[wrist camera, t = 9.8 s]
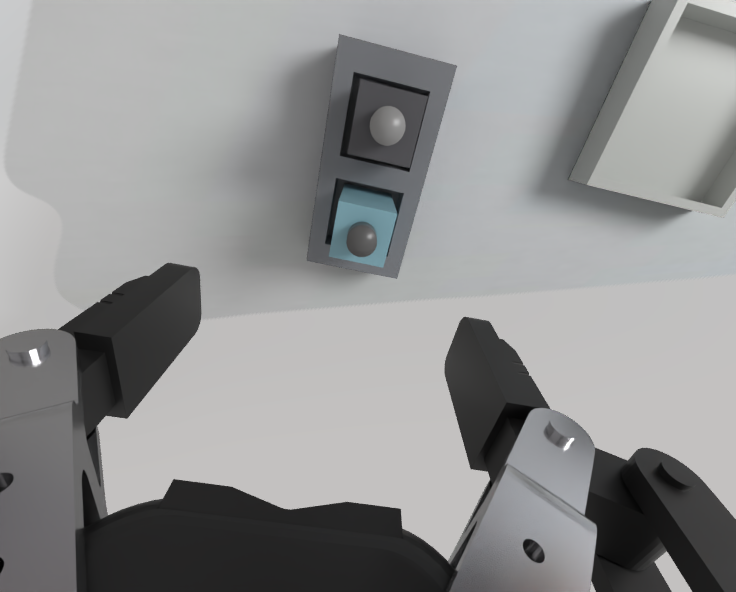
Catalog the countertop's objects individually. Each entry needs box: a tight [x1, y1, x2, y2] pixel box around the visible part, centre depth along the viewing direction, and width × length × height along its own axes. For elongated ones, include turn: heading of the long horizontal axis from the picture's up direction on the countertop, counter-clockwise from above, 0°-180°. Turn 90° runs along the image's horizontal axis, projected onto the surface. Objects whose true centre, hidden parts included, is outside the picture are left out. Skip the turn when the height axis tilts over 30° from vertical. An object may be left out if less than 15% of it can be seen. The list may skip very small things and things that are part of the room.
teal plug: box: [329, 183, 397, 268], centre depth 26 cm, size 4×4×8 cm
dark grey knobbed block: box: [348, 79, 428, 168], centre depth 23 cm, size 4×4×8 cm
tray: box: [568, 0, 736, 218], centre depth 26 cm, size 12×12×3 cm
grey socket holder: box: [307, 34, 457, 279], centre depth 28 cm, size 16×8×4 cm, turn 168°
